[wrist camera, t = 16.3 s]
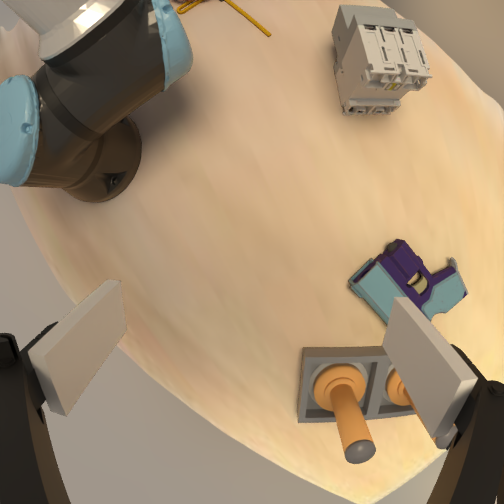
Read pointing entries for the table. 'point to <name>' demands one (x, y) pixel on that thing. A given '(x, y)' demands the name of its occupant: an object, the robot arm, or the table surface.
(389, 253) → the pistol
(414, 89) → the circuit breaker
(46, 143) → the robot arm
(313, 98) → the table surface
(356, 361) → the tray
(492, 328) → the table surface
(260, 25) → the mechanical gear assembly
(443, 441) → the orange capped peg
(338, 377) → the orange joystick peg
